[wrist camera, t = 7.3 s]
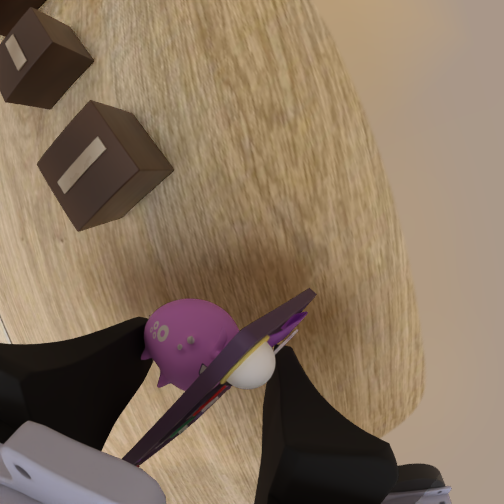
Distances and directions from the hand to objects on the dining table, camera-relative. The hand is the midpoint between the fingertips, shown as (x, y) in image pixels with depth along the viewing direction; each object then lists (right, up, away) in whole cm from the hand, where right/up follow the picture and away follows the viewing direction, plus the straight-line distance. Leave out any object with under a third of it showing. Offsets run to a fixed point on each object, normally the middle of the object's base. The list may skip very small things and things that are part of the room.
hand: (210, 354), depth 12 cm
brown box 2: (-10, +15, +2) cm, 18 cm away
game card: (0, 0, +2) cm, 2 cm away
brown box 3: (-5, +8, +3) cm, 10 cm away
